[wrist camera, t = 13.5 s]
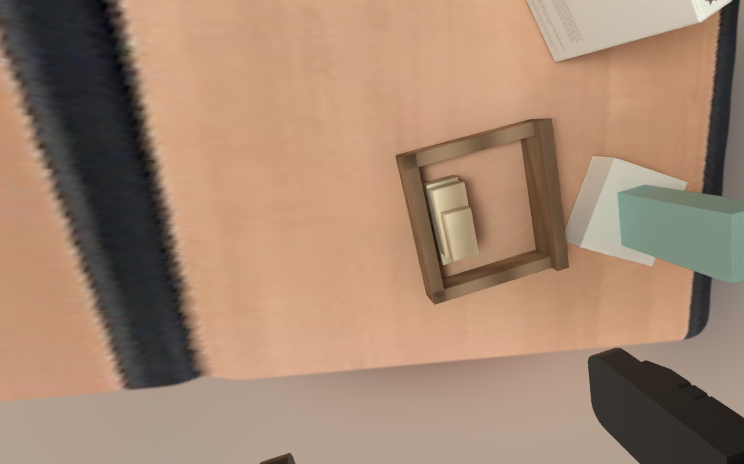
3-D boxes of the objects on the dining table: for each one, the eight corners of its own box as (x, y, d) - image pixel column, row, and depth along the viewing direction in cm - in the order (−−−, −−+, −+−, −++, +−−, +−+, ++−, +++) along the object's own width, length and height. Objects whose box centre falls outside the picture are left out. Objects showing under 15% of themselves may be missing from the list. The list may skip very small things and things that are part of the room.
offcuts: (438, 260, 42) (453, 274, 38) (421, 183, 40) (436, 189, 36) (465, 252, 42) (484, 265, 38) (451, 175, 40) (469, 180, 36)
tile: (592, 155, 42) (614, 157, 40) (662, 178, 45) (687, 182, 42) (561, 239, 44) (580, 247, 41) (629, 258, 46) (652, 266, 43)
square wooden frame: (426, 294, 43) (438, 308, 39) (395, 155, 39) (405, 157, 35) (548, 257, 44) (569, 267, 41) (529, 119, 40) (551, 118, 37)
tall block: (621, 245, 42) (731, 283, 32) (617, 192, 41) (731, 214, 30) (647, 237, 42) (765, 272, 32) (644, 184, 41) (767, 203, 30)
